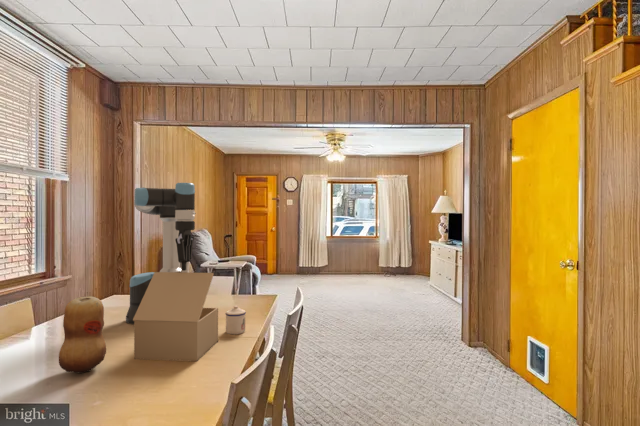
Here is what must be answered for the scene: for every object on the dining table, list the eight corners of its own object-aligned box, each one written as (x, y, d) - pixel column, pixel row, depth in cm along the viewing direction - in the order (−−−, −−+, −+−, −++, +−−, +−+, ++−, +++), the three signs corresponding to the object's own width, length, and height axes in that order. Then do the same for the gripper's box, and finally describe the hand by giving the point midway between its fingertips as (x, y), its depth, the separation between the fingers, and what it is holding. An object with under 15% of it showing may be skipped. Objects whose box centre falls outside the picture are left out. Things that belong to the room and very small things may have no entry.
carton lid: (133, 321, 142) (132, 319, 141) (155, 273, 158) (154, 272, 157) (198, 322, 140) (197, 321, 140) (213, 274, 156) (213, 272, 155)
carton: (134, 359, 142) (134, 321, 142) (163, 339, 164) (163, 306, 164) (197, 361, 140) (197, 322, 140) (218, 341, 162) (218, 307, 162)
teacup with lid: (245, 334, 172) (245, 308, 172) (224, 335, 170) (224, 308, 170) (245, 326, 183) (245, 301, 183) (226, 327, 182) (226, 302, 182)
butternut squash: (71, 383, 121) (71, 304, 122) (51, 374, 129) (51, 299, 129) (114, 368, 133) (114, 296, 133) (93, 360, 140) (94, 292, 140)
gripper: (187, 220, 151) (187, 281, 151) (200, 220, 164) (200, 275, 164) (168, 220, 151) (168, 280, 151) (183, 220, 164) (183, 275, 164)
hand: (185, 278), depth 158 cm, fingers closed
